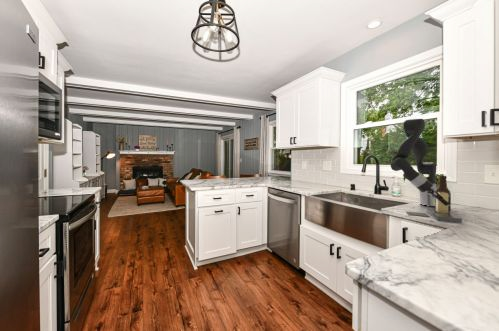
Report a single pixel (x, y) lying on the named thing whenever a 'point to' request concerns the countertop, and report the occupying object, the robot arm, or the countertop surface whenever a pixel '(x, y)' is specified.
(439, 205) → the wooden square peg
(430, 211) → the grey slotted plate
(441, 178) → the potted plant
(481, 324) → the countertop surface
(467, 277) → the countertop surface
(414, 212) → the rubber mat
